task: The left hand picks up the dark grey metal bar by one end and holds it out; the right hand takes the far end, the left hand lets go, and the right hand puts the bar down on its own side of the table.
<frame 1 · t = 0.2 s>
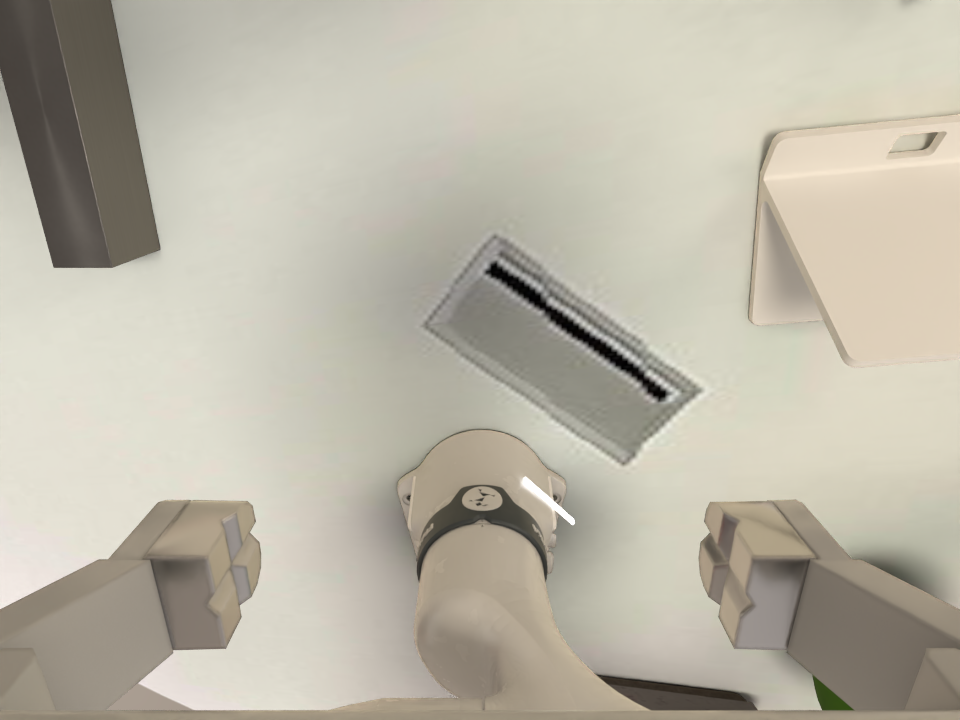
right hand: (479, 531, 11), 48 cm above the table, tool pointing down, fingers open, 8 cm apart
bar: (104, 110, 52), on the table
tablet stand: (887, 221, 55), on the table
vase: (845, 602, 72), on the table
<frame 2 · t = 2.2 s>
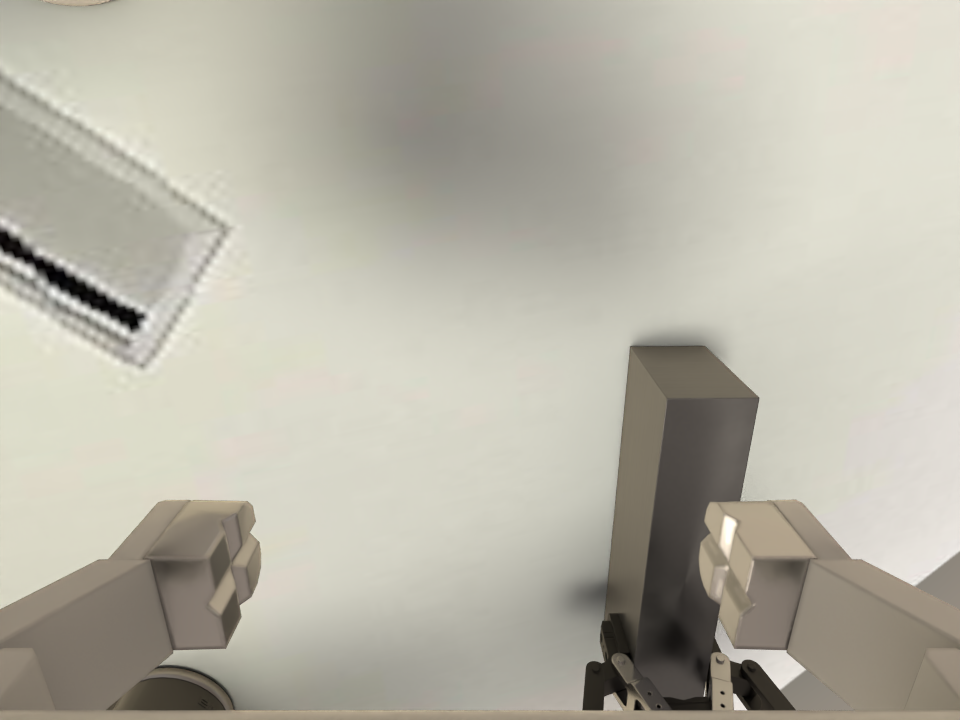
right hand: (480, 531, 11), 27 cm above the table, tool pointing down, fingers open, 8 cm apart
left hand: (650, 622, 43), fingers closed on bar, 5 cm apart
bar: (648, 503, 43), on the table, touching left hand
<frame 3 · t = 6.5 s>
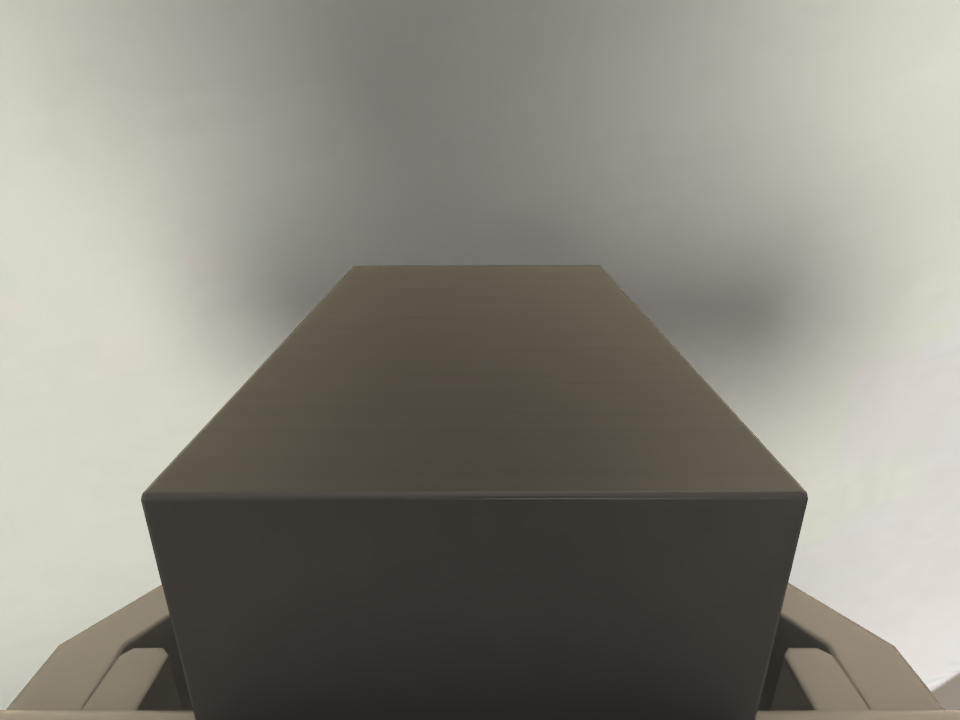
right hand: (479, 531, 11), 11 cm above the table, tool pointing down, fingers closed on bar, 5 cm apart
bar: (478, 708, 16), point 8 cm above the table, touching right hand, left hand
when the left hand's fingers open (11 cm above the table, at t = 7.5 s): bar stays where it is, held by the right hand.
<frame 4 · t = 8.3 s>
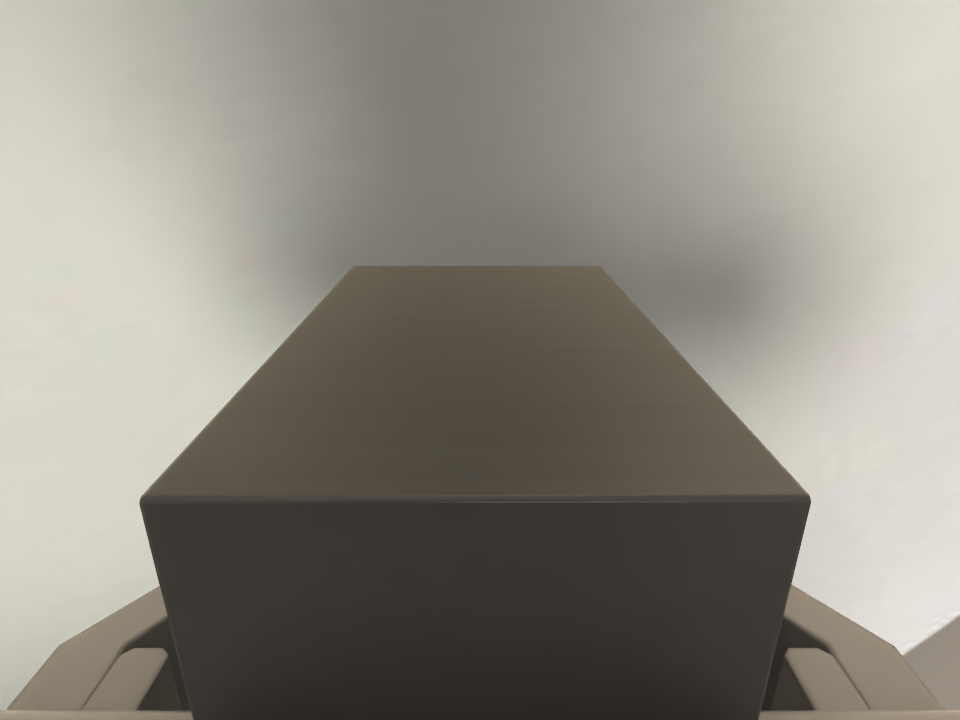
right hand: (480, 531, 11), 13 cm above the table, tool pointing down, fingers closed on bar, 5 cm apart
bar: (477, 709, 16), point 10 cm above the table, touching right hand
when the right hand's fingers open (4 cm above the table, at t = 13.7 s): bar stays where it is, on the table.
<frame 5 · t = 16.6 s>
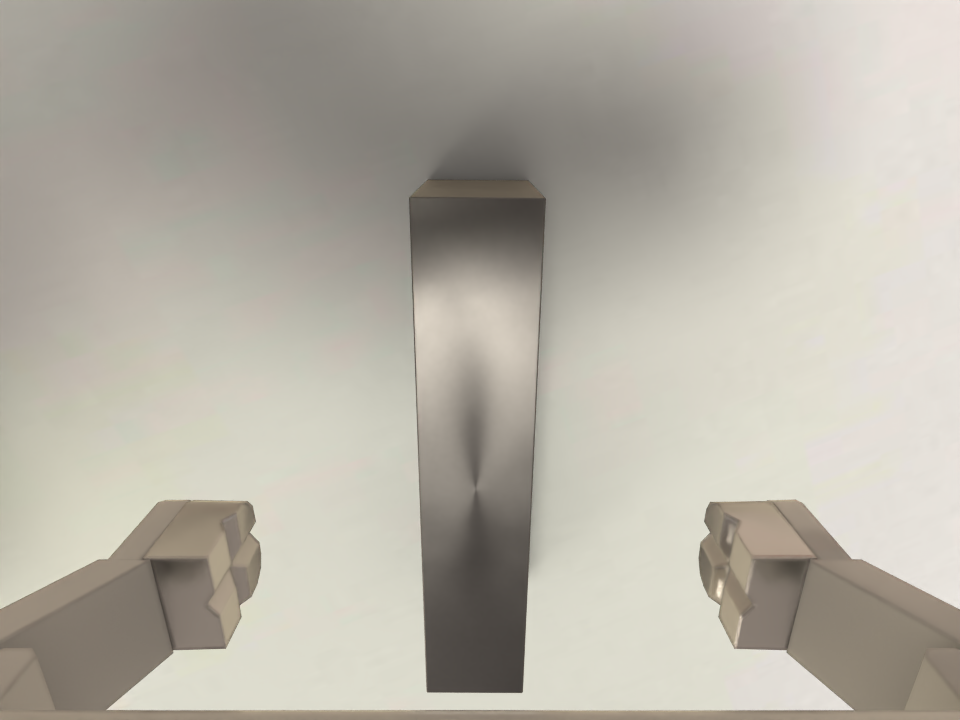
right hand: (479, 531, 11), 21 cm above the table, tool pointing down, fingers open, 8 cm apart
bar: (476, 408, 33), on the table
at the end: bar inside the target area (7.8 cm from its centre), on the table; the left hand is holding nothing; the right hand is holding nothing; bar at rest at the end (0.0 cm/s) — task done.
